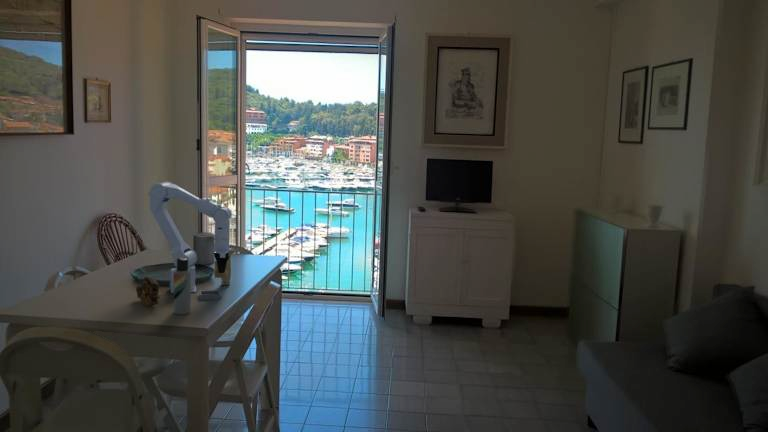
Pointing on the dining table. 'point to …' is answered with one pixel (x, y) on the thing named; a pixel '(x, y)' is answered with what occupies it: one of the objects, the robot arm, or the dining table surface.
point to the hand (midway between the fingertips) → (221, 271)
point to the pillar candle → (204, 247)
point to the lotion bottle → (182, 287)
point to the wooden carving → (148, 291)
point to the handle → (227, 280)
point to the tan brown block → (220, 275)
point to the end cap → (210, 295)
